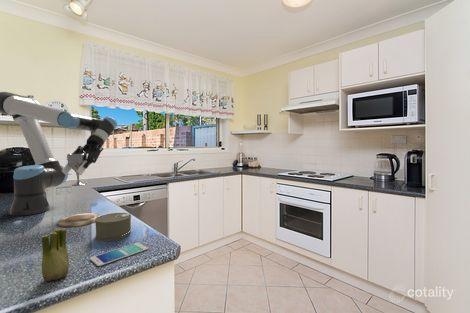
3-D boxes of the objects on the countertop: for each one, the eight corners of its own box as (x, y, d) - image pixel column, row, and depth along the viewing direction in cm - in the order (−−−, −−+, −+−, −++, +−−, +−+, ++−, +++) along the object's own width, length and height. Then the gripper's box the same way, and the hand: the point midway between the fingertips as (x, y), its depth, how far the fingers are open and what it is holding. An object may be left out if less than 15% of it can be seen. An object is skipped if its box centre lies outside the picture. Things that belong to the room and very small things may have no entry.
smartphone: (149, 248, 75) (98, 266, 63) (149, 250, 75) (98, 268, 63) (137, 242, 80) (88, 257, 68) (137, 244, 80) (88, 260, 68)
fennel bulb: (43, 286, 55) (41, 236, 54) (39, 278, 58) (38, 231, 57) (72, 276, 59) (71, 230, 58) (67, 269, 62) (66, 225, 62)
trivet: (75, 228, 94) (75, 225, 94) (48, 224, 99) (48, 221, 99) (109, 217, 109) (108, 214, 109) (84, 214, 114) (84, 211, 114)
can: (90, 235, 87) (90, 217, 87) (123, 227, 96) (123, 211, 95) (101, 244, 79) (101, 224, 78) (136, 235, 87) (136, 217, 87)
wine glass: (67, 186, 107) (65, 154, 106) (69, 184, 114) (68, 153, 113) (87, 185, 111) (86, 153, 110) (88, 182, 118) (87, 153, 117)
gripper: (117, 144, 124) (94, 178, 109) (85, 144, 129) (59, 177, 114) (110, 133, 119) (84, 168, 104) (76, 134, 123) (47, 167, 108)
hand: (71, 173), depth 109 cm, fingers closed on wine glass, 8 cm apart
